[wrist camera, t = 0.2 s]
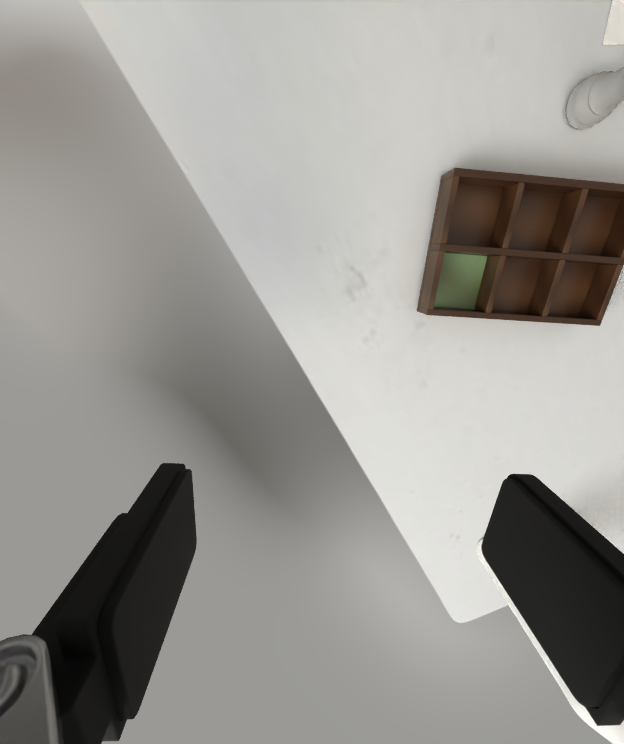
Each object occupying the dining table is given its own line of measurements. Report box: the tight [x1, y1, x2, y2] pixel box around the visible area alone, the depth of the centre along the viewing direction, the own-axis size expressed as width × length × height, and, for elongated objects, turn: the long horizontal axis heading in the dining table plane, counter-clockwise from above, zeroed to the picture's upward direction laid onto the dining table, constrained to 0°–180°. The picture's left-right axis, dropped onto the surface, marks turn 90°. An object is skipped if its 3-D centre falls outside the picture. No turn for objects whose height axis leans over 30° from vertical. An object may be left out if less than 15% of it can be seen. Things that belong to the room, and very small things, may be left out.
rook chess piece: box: [566, 68, 624, 129], centre depth 28 cm, size 4×4×8 cm
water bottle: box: [476, 539, 624, 744], centre depth 41 cm, size 9×6×25 cm
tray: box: [417, 168, 624, 326], centre depth 35 cm, size 15×22×3 cm
